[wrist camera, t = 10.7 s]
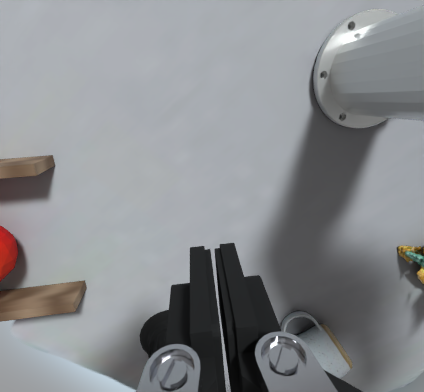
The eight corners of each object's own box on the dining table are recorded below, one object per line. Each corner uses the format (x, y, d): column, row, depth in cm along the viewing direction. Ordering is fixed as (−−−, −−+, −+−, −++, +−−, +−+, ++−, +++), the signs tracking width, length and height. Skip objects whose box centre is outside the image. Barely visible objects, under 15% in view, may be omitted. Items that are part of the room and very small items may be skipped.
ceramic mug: (336, 338, 47) (365, 381, 40) (295, 362, 48) (316, 409, 40) (309, 298, 44) (335, 336, 36) (265, 324, 44) (282, 367, 37)
